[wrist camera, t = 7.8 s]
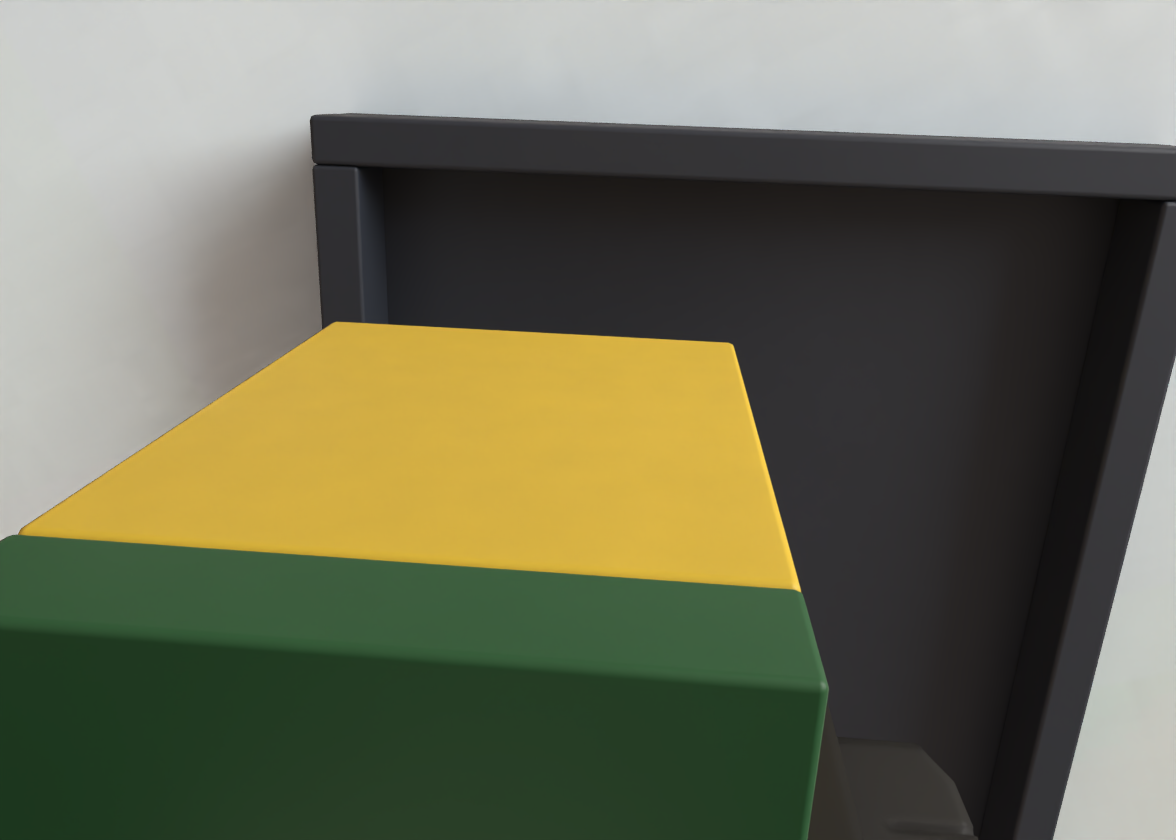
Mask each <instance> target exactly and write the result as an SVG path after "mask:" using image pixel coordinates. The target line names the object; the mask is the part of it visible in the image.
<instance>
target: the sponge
mask: <svg viewBox="0 0 1176 840" xmlns="http://www.w3.org/2000/svg"><path fill="white" fill-rule="evenodd" d="M828 692H829V686H828V683H827V679H826V676H825V672H824V668H823V665H822V661H821V658H820V654H819V650H818V647H817V643H816V640H815V636H814V632H813V629H812V625H811V622H810V618H809V614H808V611H807V607H806V604H805V600H804V597H803V594H802V593H801V589H800V585H799V581H798V578H797V574H796V570H795V567H794V563H793V560H792V556H791V552H790V549H789V545H788V541H787V538H786V534H785V531H784V527H783V523H782V520H781V516H780V512H779V509H778V505H777V502H776V498H775V494H774V491H773V487H772V483H771V480H770V476H769V473H768V469H767V465H766V462H765V458H764V455H763V451H762V447H761V444H760V440H759V436H758V433H757V429H756V426H755V422H754V418H753V415H752V411H751V407H750V404H749V400H748V397H747V393H746V389H745V386H744V382H743V378H742V375H741V371H740V368H739V364H738V360H737V357H736V353H735V349H734V346H733V345H732V344H730V343H723V342H705V341H686V340H667V339H649V338H630V337H612V336H593V335H574V334H556V333H537V332H518V331H500V330H481V329H463V328H444V327H425V326H407V325H388V324H369V323H351V322H334V323H332V324H330V325H329V326H327V327H326V328H324V329H323V330H321V331H320V332H318V333H317V334H315V335H314V336H312V337H311V338H309V339H308V340H306V341H305V342H303V343H301V344H300V345H298V346H297V347H295V348H294V349H292V350H291V351H289V352H288V353H286V354H285V355H283V356H282V357H280V358H279V359H277V360H276V361H274V362H273V363H271V364H270V365H268V366H267V367H265V368H264V369H262V370H261V371H259V372H258V373H256V374H255V375H253V376H251V377H250V378H248V379H247V380H245V381H244V382H242V383H241V384H239V385H238V386H236V387H235V388H233V389H232V390H230V391H229V392H227V393H226V394H224V395H223V396H221V397H220V398H218V399H217V400H215V401H214V402H212V403H211V404H209V405H208V406H206V407H205V408H203V409H202V410H200V411H198V412H197V413H195V414H194V415H192V416H191V417H189V418H188V419H186V420H185V421H183V422H182V423H180V424H179V425H177V426H176V427H174V428H173V429H171V430H170V431H168V432H167V433H165V434H164V435H162V436H161V437H159V438H158V439H156V440H155V441H153V442H152V443H150V444H148V445H147V446H145V447H144V448H142V449H141V450H139V451H138V452H136V453H135V454H133V455H132V456H130V457H129V458H127V459H126V460H124V461H123V462H121V463H120V464H118V465H117V466H115V467H114V468H112V469H111V470H109V471H108V472H106V473H105V474H103V475H102V476H100V477H99V478H97V479H95V480H94V481H92V482H91V483H89V484H88V485H86V486H85V487H83V488H82V489H80V490H79V491H77V492H76V493H74V494H73V495H71V496H70V497H68V498H67V499H65V500H64V501H62V502H61V503H59V504H58V505H56V506H55V507H53V508H52V509H50V510H49V511H47V512H45V513H44V514H42V515H41V516H39V517H38V518H36V519H35V520H33V521H32V522H30V523H29V524H27V525H26V526H24V527H23V528H21V530H20V531H19V533H18V535H11V536H8V537H6V538H4V539H3V540H1V541H0V840H807V839H808V832H809V825H810V818H811V811H812V804H813V797H814V790H815V783H816V776H817V769H818V762H819V755H820V748H821V741H822V734H823V727H824V720H825V713H826V706H827V699H828Z"/></svg>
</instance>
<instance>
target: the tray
mask: <svg viewBox="0 0 1176 840" xmlns="http://www.w3.org/2000/svg"><path fill="white" fill-rule="evenodd" d="M310 129H311V146H312V159H313V162H314V163H316V164H318V165H315V166H313V169H312V170H313V186H314V202H315V218H316V234H317V250H318V267H319V283H320V299H321V315H322V330H323V329H324V328H326V327H327V326H329V325H330V324H332V323H334V322H351V323H369V324H388V325H407V326H425V327H444V328H463V329H481V330H500V331H518V332H537V333H556V334H574V335H593V336H612V337H630V338H649V339H667V340H686V341H705V342H723V343H730V344H732V345H733V346H734V349H735V353H736V357H737V360H738V364H739V368H740V371H741V375H742V378H743V382H744V386H745V389H746V393H747V397H748V400H749V404H750V407H751V411H752V415H753V418H754V422H755V426H756V429H757V433H758V436H759V440H760V444H761V447H762V451H763V455H764V458H765V462H766V465H767V469H768V473H769V476H770V480H771V483H772V487H773V491H774V494H775V498H776V502H777V505H778V509H779V512H780V516H781V520H782V523H783V527H784V531H785V534H786V538H787V541H788V545H789V549H790V552H791V556H792V560H793V563H794V567H795V570H796V574H797V578H798V581H799V585H800V589H801V593H802V594H803V597H804V600H805V604H806V607H807V611H808V614H809V618H810V622H811V625H812V629H813V632H814V636H815V640H816V643H817V647H818V650H819V654H820V658H821V661H822V665H823V668H824V672H825V676H826V679H827V683H828V686H829V692H828V699H827V702H828V706H829V710H830V714H831V717H832V721H833V725H834V729H835V732H836V736H837V737H846V738H858V739H870V740H882V741H894V742H906V743H917V744H918V745H919V746H920V747H921V748H922V749H923V750H924V751H925V752H926V753H927V754H928V755H929V756H930V757H931V759H932V760H933V761H934V762H935V763H936V764H937V765H938V766H939V767H940V768H941V769H942V770H943V771H944V772H945V773H946V774H947V775H948V776H949V777H950V778H951V779H952V780H953V781H954V782H955V785H956V787H957V790H958V792H959V794H960V797H961V799H962V801H963V804H964V806H965V809H966V811H967V813H968V816H969V818H970V820H971V823H972V825H973V834H974V836H977V837H978V840H1053V836H1054V832H1055V828H1056V824H1057V820H1058V816H1059V813H1060V809H1061V805H1062V801H1063V797H1064V793H1065V789H1066V785H1067V781H1068V777H1069V773H1070V769H1071V765H1072V761H1073V757H1074V754H1075V750H1076V746H1077V742H1078V738H1079V734H1080V730H1081V726H1082V722H1083V718H1084V714H1085V710H1086V706H1087V702H1088V698H1089V695H1090V691H1091V687H1092V683H1093V679H1094V675H1095V671H1096V667H1097V663H1098V659H1099V655H1100V651H1101V647H1102V643H1103V639H1104V636H1105V632H1106V628H1107V624H1108V620H1109V616H1110V612H1111V608H1112V604H1113V600H1114V596H1115V592H1116V588H1117V584H1118V580H1119V577H1120V573H1121V569H1122V565H1123V561H1124V557H1125V553H1126V549H1127V545H1128V541H1129V537H1130V533H1131V529H1132V525H1133V521H1134V518H1135V514H1136V510H1137V506H1138V502H1139V498H1140V494H1141V490H1142V486H1143V482H1144V478H1145V474H1146V470H1147V466H1148V462H1149V459H1150V455H1151V451H1152V447H1153V443H1154V439H1155V435H1156V431H1157V427H1158V423H1159V419H1160V415H1161V411H1162V407H1163V403H1164V400H1165V396H1166V392H1167V388H1168V384H1169V380H1170V376H1171V372H1172V368H1173V364H1174V360H1175V356H1176V146H1171V145H1159V144H1134V143H1108V142H1082V141H1056V140H1030V139H1004V138H978V137H952V136H927V135H901V134H875V133H849V132H823V131H797V130H771V129H745V128H719V127H693V126H667V125H642V124H616V123H590V122H564V121H538V120H512V119H486V118H460V117H434V116H408V115H382V114H357V113H346V114H322V115H314V116H311V119H310Z"/></svg>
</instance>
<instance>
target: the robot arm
mask: <svg viewBox="0 0 1176 840" xmlns="http://www.w3.org/2000/svg"><path fill="white" fill-rule="evenodd" d="M807 840H978V837H977V836H974V834H973V825H972V823H971V820H970V818H969V816H968V813H967V811H966V809H965V806H964V804H963V801H962V799H961V797H960V794H959V792H958V790H957V787H956V785H955V782H954V781H953V780H952V779H951V778H950V777H949V776H948V775H947V774H946V773H945V772H944V771H943V770H942V769H941V768H940V767H939V766H938V765H937V764H936V763H935V762H934V761H933V760H932V759H931V757H930V756H929V755H928V754H927V753H926V752H925V751H924V750H923V749H922V748H921V747H920V746H919V745H918V744H917V743H906V742H894V741H882V740H870V739H858V738H846V737H837V736H836V732H835V729H834V725H833V721H832V717H831V714H830V710H829V706H828V702H827V706H826V713H825V720H824V727H823V734H822V741H821V748H820V755H819V762H818V769H817V776H816V783H815V790H814V797H813V804H812V811H811V818H810V825H809V832H808V839H807Z"/></svg>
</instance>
